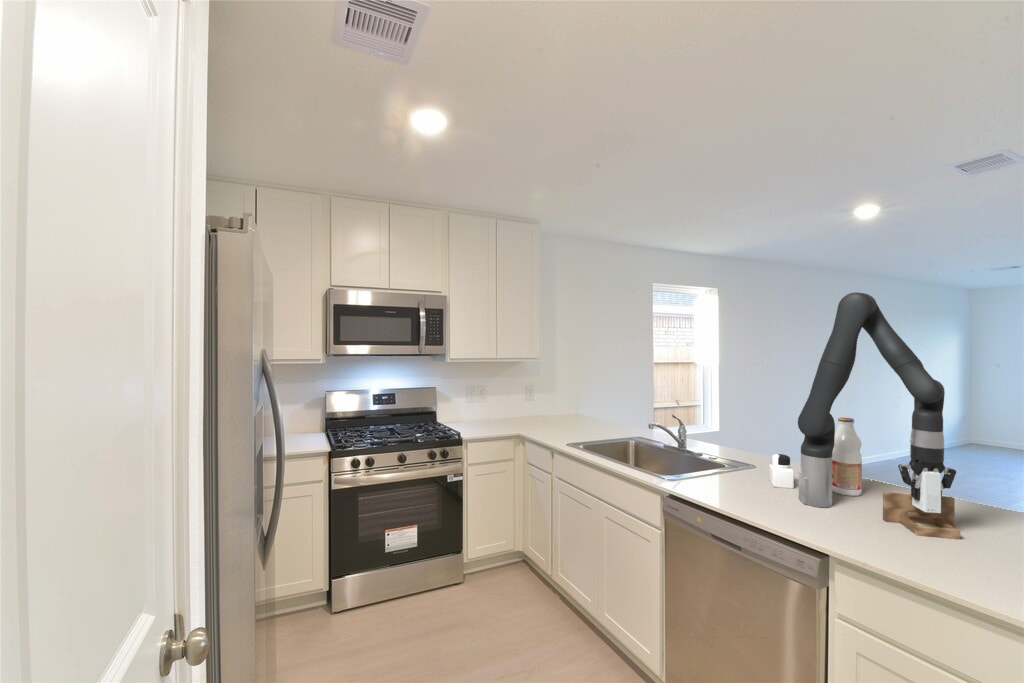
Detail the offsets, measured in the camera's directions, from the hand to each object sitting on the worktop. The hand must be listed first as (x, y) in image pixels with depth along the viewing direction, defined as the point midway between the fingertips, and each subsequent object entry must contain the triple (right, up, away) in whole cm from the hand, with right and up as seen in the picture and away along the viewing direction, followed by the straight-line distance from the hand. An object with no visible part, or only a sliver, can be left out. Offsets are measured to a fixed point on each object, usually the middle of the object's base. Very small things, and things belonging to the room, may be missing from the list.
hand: (926, 499), depth 136 cm
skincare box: (0, -3, 0) cm, 3 cm away
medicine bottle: (-19, -9, +41) cm, 47 cm away
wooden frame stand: (0, -9, 0) cm, 9 cm away
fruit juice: (0, -9, +33) cm, 34 cm away
